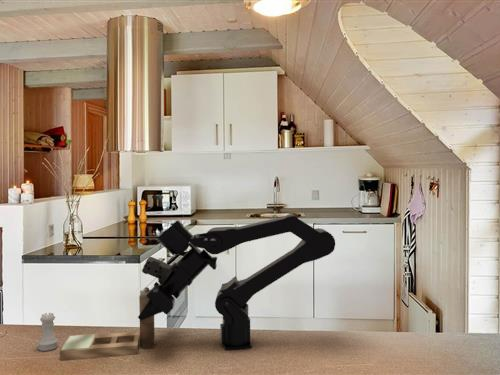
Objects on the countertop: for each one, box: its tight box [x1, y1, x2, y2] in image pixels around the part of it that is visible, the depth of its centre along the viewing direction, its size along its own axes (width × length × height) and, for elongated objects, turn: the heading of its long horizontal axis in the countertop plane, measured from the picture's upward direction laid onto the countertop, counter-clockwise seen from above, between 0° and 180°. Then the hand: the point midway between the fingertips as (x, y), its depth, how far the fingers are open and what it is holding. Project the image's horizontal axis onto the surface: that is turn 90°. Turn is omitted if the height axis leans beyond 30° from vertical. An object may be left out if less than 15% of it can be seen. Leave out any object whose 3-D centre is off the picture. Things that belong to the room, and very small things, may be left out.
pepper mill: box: [138, 286, 156, 349], centre depth 101 cm, size 3×3×14 cm
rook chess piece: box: [37, 312, 59, 352], centre depth 100 cm, size 4×4×8 cm
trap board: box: [59, 330, 140, 361], centre depth 99 cm, size 16×9×2 cm, turn 101°
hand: (141, 316), depth 101 cm, fingers closed on pepper mill, 3 cm apart
